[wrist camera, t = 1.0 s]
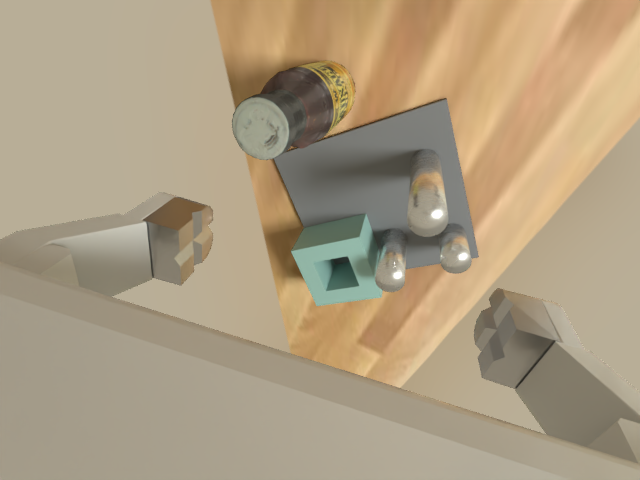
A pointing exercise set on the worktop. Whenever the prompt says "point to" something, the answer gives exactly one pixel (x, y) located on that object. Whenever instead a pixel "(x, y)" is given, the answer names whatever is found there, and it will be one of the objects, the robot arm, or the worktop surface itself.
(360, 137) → the mat
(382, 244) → the medium pin
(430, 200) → the long pin
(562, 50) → the worktop surface
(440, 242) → the short pin
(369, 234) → the block
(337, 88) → the sauce bottle
